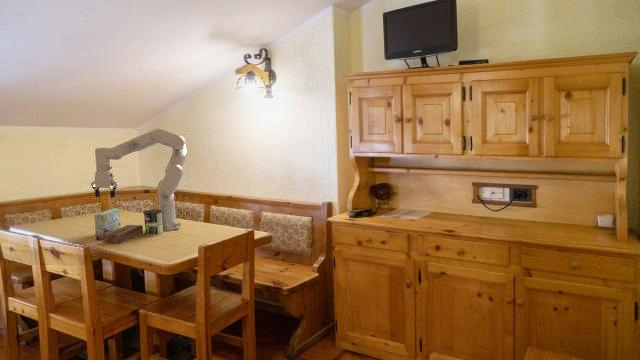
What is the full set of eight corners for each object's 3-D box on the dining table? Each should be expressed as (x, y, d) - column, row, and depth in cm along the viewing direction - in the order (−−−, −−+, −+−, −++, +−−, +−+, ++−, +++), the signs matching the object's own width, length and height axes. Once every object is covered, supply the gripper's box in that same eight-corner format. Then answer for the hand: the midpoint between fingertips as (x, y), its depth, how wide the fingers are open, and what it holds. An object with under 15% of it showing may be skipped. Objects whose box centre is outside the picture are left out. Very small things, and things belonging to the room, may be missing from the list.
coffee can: (149, 236, 268) (148, 213, 267) (142, 234, 276) (140, 211, 274) (166, 233, 276) (164, 210, 274) (158, 231, 283) (157, 208, 281)
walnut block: (143, 233, 278) (142, 225, 277) (120, 243, 254) (119, 234, 254) (127, 233, 279) (127, 225, 279) (103, 243, 256) (103, 234, 255)
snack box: (105, 240, 263) (103, 214, 261) (95, 240, 263) (93, 214, 261) (121, 231, 284) (119, 207, 282) (112, 231, 284) (110, 208, 282)
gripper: (120, 168, 271) (122, 196, 273) (94, 168, 273) (96, 196, 276) (112, 169, 264) (114, 198, 266) (85, 169, 266) (88, 198, 268)
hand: (105, 197), depth 271 cm, fingers open, 9 cm apart
